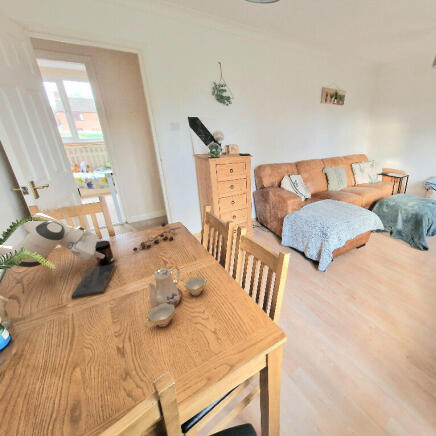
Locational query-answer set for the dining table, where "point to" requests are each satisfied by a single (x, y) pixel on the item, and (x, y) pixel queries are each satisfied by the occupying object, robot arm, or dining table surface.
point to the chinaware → (169, 295)
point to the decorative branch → (157, 238)
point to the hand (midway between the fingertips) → (105, 252)
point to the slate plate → (94, 281)
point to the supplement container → (105, 249)
